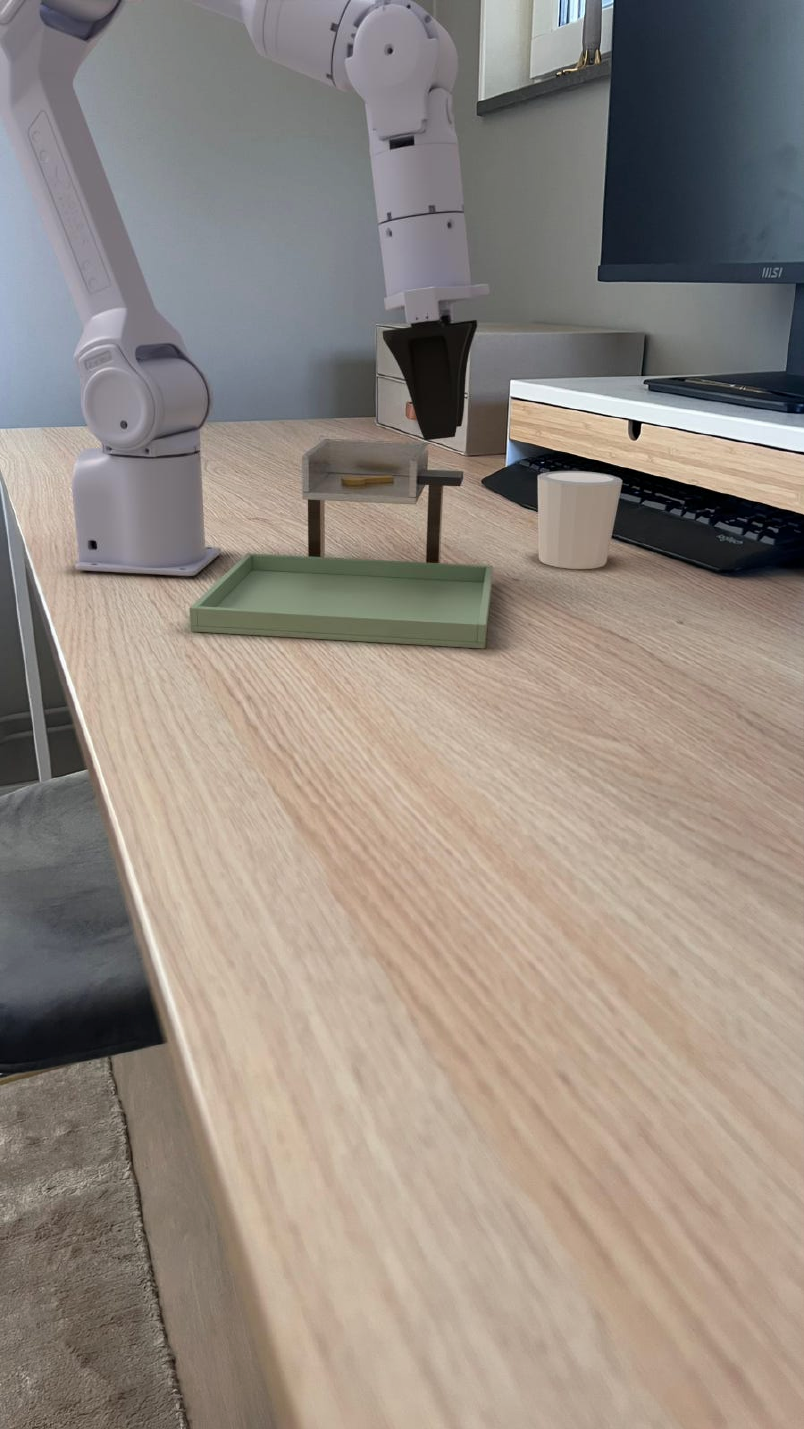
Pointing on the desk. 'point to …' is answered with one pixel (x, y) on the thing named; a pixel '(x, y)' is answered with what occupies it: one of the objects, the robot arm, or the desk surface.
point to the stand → (433, 526)
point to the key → (365, 479)
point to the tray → (349, 600)
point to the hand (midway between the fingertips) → (444, 432)
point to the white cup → (576, 518)
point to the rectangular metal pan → (370, 471)
